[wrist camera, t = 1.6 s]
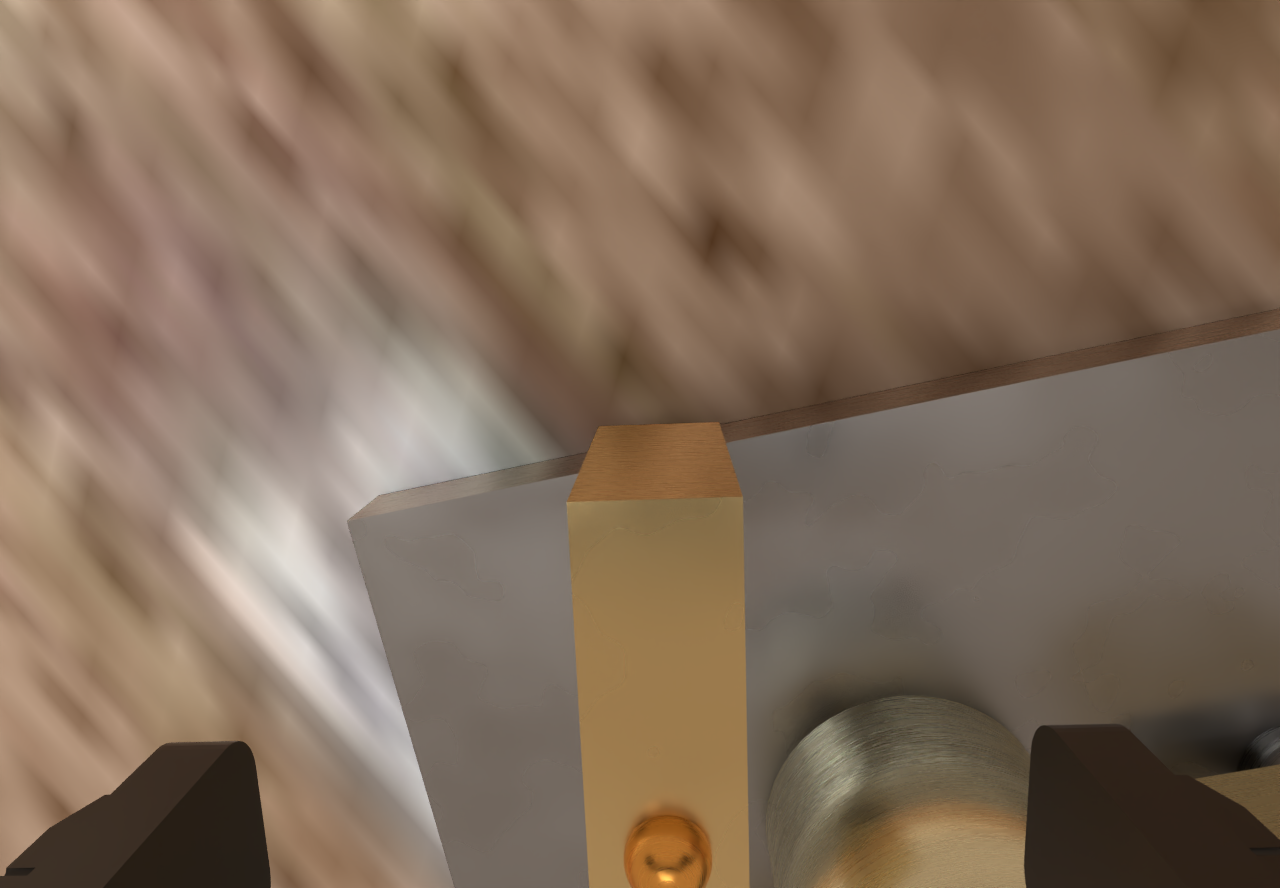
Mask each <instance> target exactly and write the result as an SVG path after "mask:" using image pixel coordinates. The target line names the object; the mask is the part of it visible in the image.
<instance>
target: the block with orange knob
mask: <svg viewBox="0 0 1280 888" xmlns="http://www.w3.org/2000/svg"><path fill="white" fill-rule="evenodd" d="M1196 780H1197V781H1199V782H1201V783H1203V784H1204V785H1206V786H1208V787H1210V788H1212V789H1213V790H1215V791H1217V792H1219V793H1220V794H1222V795H1224V796H1226V797H1228V798H1229V799H1231V800H1233V801H1235V802H1236V803H1238V804H1240V805H1242V806H1243V807H1245V808H1246V809H1247V810H1248V811H1249V812H1250V813H1251V814H1253V815H1254V816H1255V817H1256V818H1257V819H1258V820H1259V821H1260V822H1261V823H1262V824H1263V825H1264V826H1266V827H1267V828H1268V829H1269V830H1270V831H1271V832H1272V833H1273V834H1274V835H1275V836H1276V837H1277V838H1278V839H1280V726H1277V727H1274V728H1271V729H1269V730H1267V731H1265V732H1264V733H1262V734H1261V735H1259V736H1258V737H1257V738H1255V739H1254V740H1253V741H1252V742H1251V743H1250V744H1249V745H1248V746H1247V748H1246V749H1245V750H1244V752H1243V754H1242V755H1241V758H1240V760H1239V762H1238V766H1237V771H1236V772H1233V773H1227V774H1221V775H1215V776H1209V777H1203V778H1197V779H1196Z"/></svg>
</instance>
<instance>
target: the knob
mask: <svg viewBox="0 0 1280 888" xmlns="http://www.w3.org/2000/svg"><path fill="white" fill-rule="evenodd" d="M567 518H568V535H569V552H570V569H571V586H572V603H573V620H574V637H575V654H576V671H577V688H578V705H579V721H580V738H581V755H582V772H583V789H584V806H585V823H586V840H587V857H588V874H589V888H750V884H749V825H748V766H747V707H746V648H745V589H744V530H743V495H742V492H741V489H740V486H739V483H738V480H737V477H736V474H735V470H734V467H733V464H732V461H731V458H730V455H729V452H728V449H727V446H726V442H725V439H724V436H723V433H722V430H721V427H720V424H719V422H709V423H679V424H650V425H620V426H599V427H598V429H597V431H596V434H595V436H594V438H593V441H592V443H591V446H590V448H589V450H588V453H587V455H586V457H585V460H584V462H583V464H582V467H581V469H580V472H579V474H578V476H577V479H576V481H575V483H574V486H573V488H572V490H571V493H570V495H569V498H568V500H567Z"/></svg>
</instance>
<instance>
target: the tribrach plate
mask: <svg viewBox="0 0 1280 888" xmlns="http://www.w3.org/2000/svg"><path fill="white" fill-rule="evenodd" d="M720 427H721V430H722V433H723V436H724V439H725V442H726V446H727V449H728V452H729V455H730V458H731V461H732V464H733V467H734V470H735V474H736V477H737V480H738V483H739V486H740V489H741V492H742V495H743V530H744V589H745V648H746V707H747V766H748V825H749V884H750V888H1026V883H1025V874H1024V853H1025V836H1026V820H1027V803H1028V787H1029V771H1030V754H1031V744H1032V739H1033V736H1034V734H1035V732H1036V730H1037V729H1038V728H1039V727H1040V726H1043V725H1074V724H1121V725H1123V726H1125V727H1126V728H1127V729H1128V730H1130V731H1131V732H1132V733H1133V734H1134V735H1135V736H1136V737H1137V738H1138V739H1139V740H1140V741H1141V742H1142V743H1143V744H1144V745H1145V746H1146V747H1147V748H1148V749H1149V750H1150V751H1151V752H1152V753H1153V754H1154V755H1155V756H1156V757H1157V758H1158V759H1159V760H1160V761H1161V762H1162V763H1163V764H1164V765H1165V766H1166V767H1167V768H1168V769H1169V770H1170V771H1171V772H1172V773H1173V774H1174V775H1189V776H1190V777H1192V778H1194V779H1197V778H1203V777H1209V776H1215V775H1221V774H1227V773H1233V772H1236V771H1237V766H1238V762H1239V760H1240V758H1241V755H1242V754H1243V752H1244V750H1245V749H1246V748H1247V746H1248V745H1249V744H1250V743H1251V742H1252V741H1253V740H1254V739H1255V738H1257V737H1258V736H1259V735H1261V734H1262V733H1264V732H1265V731H1267V730H1269V729H1271V728H1274V727H1277V726H1280V309H1275V310H1271V311H1266V312H1261V313H1256V314H1251V315H1247V316H1242V317H1237V318H1232V319H1227V320H1222V321H1218V322H1213V323H1208V324H1203V325H1198V326H1194V327H1189V328H1184V329H1179V330H1174V331H1169V332H1165V333H1160V334H1155V335H1150V336H1145V337H1140V338H1136V339H1131V340H1126V341H1121V342H1116V343H1112V344H1107V345H1102V346H1097V347H1092V348H1087V349H1083V350H1078V351H1073V352H1068V353H1063V354H1059V355H1054V356H1049V357H1044V358H1039V359H1034V360H1030V361H1025V362H1020V363H1015V364H1010V365H1006V366H1001V367H996V368H991V369H986V370H981V371H977V372H972V373H967V374H962V375H957V376H953V377H948V378H943V379H938V380H933V381H928V382H924V383H919V384H914V385H909V386H904V387H900V388H895V389H890V390H885V391H880V392H875V393H871V394H866V395H861V396H856V397H851V398H846V399H842V400H837V401H832V402H827V403H822V404H818V405H813V406H808V407H803V408H798V409H793V410H789V411H784V412H779V413H774V414H769V415H765V416H760V417H755V418H750V419H745V420H740V421H736V422H731V423H726V424H721V425H720ZM587 453H588V452H586V453H581V454H577V455H572V456H567V457H562V458H557V459H552V460H548V461H543V462H538V463H533V464H528V465H524V466H519V467H514V468H509V469H504V470H499V471H495V472H490V473H485V474H480V475H475V476H471V477H466V478H461V479H456V480H451V481H446V482H442V483H437V484H432V485H427V486H422V487H418V488H413V489H408V490H403V491H398V492H393V493H389V494H384V495H379V496H378V497H376V498H375V499H374V500H373V501H371V502H370V503H369V504H368V505H366V506H365V507H364V508H363V509H361V510H360V511H359V512H358V513H356V514H355V515H354V516H353V517H351V518H350V519H349V520H348V521H347V523H348V526H349V530H350V533H351V536H352V540H353V543H354V547H355V550H356V553H357V557H358V560H359V564H360V567H361V570H362V574H363V577H364V581H365V584H366V587H367V591H368V594H369V598H370V601H371V604H372V608H373V611H374V615H375V618H376V621H377V625H378V628H379V632H380V635H381V638H382V642H383V645H384V649H385V652H386V655H387V659H388V662H389V666H390V669H391V672H392V676H393V679H394V683H395V686H396V689H397V693H398V696H399V700H400V703H401V706H402V710H403V713H404V717H405V720H406V723H407V727H408V730H409V734H410V737H411V740H412V744H413V747H414V751H415V754H416V757H417V761H418V764H419V768H420V771H421V774H422V778H423V781H424V785H425V788H426V791H427V795H428V798H429V802H430V805H431V808H432V812H433V815H434V819H435V822H436V825H437V829H438V832H439V836H440V839H441V842H442V846H443V849H444V853H445V856H446V859H447V863H448V866H449V870H450V873H451V876H452V880H453V883H454V887H455V888H589V874H588V857H587V840H586V823H585V806H584V789H583V772H582V755H581V738H580V721H579V705H578V688H577V671H576V654H575V637H574V620H573V603H572V586H571V569H570V552H569V535H568V518H567V500H568V498H569V495H570V493H571V490H572V488H573V486H574V483H575V481H576V479H577V476H578V474H579V472H580V469H581V467H582V464H583V462H584V460H585V457H586V455H587Z"/></svg>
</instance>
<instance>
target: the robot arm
mask: <svg viewBox="0 0 1280 888" xmlns="http://www.w3.org/2000/svg"><path fill="white" fill-rule="evenodd" d="M1024 874H1025V883H1026V888H1280V839H1278V838H1277V837H1276V836H1275V835H1274V834H1273V833H1272V832H1271V831H1270V830H1269V829H1268V828H1267V827H1266V826H1264V825H1263V824H1262V823H1261V822H1260V821H1259V820H1258V819H1257V818H1256V817H1255V816H1254V815H1253V814H1251V813H1250V812H1249V811H1248V810H1247V809H1246V808H1245V807H1243V806H1242V805H1240V804H1238V803H1236V802H1235V801H1233V800H1231V799H1229V798H1228V797H1226V796H1224V795H1222V794H1220V793H1219V792H1217V791H1215V790H1213V789H1212V788H1210V787H1208V786H1206V785H1204V784H1203V783H1201V782H1199V781H1197V780H1196V779H1194V778H1192V777H1190V776H1189V775H1174V774H1173V773H1172V772H1171V771H1170V770H1169V769H1168V768H1167V767H1166V766H1165V765H1164V764H1163V763H1162V762H1161V761H1160V760H1159V759H1158V758H1157V757H1156V756H1155V755H1154V754H1153V753H1152V752H1151V751H1150V750H1149V749H1148V748H1147V747H1146V746H1145V745H1144V744H1143V743H1142V742H1141V741H1140V740H1139V739H1138V738H1137V737H1136V736H1135V735H1134V734H1133V733H1132V732H1131V731H1130V730H1128V729H1127V728H1126V727H1125V726H1123V725H1121V724H1074V725H1043V726H1040V727H1039V728H1038V729H1037V730H1036V732H1035V734H1034V736H1033V739H1032V744H1031V754H1030V771H1029V787H1028V803H1027V820H1026V836H1025V853H1024ZM270 887H271V877H270V867H269V859H268V852H267V845H266V837H265V830H264V823H263V815H262V808H261V801H260V793H259V786H258V779H257V771H256V765H255V760H254V756H253V753H252V751H251V749H250V748H249V746H248V745H247V744H246V743H244V742H241V741H222V742H178V743H167V744H164V745H162V746H161V747H159V748H158V749H157V750H156V751H155V752H154V753H153V754H152V755H151V756H150V757H149V758H148V759H147V760H146V761H145V762H143V763H142V764H141V765H140V766H139V767H138V768H137V769H136V770H135V771H134V772H133V773H132V774H131V775H130V776H129V777H128V778H127V779H126V780H125V781H124V782H123V783H122V784H121V785H120V786H119V787H118V788H117V789H116V790H115V791H114V792H113V793H112V794H111V795H104V796H102V797H101V798H99V799H97V800H96V801H94V802H92V803H91V804H89V805H87V806H86V807H84V808H82V809H81V810H79V811H77V812H76V813H74V814H72V815H71V816H69V817H67V818H66V819H64V820H62V821H60V822H59V823H57V824H55V825H54V826H52V827H50V828H49V829H48V830H47V831H46V832H45V833H43V834H42V835H41V836H40V837H39V838H38V839H37V840H36V841H35V842H34V843H33V844H32V845H31V846H30V847H28V848H27V849H26V850H25V851H24V852H23V853H22V854H21V855H20V856H19V857H18V858H17V859H16V860H14V861H13V862H12V863H11V864H10V865H9V866H8V867H7V868H6V874H5V876H0V888H270Z"/></svg>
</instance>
